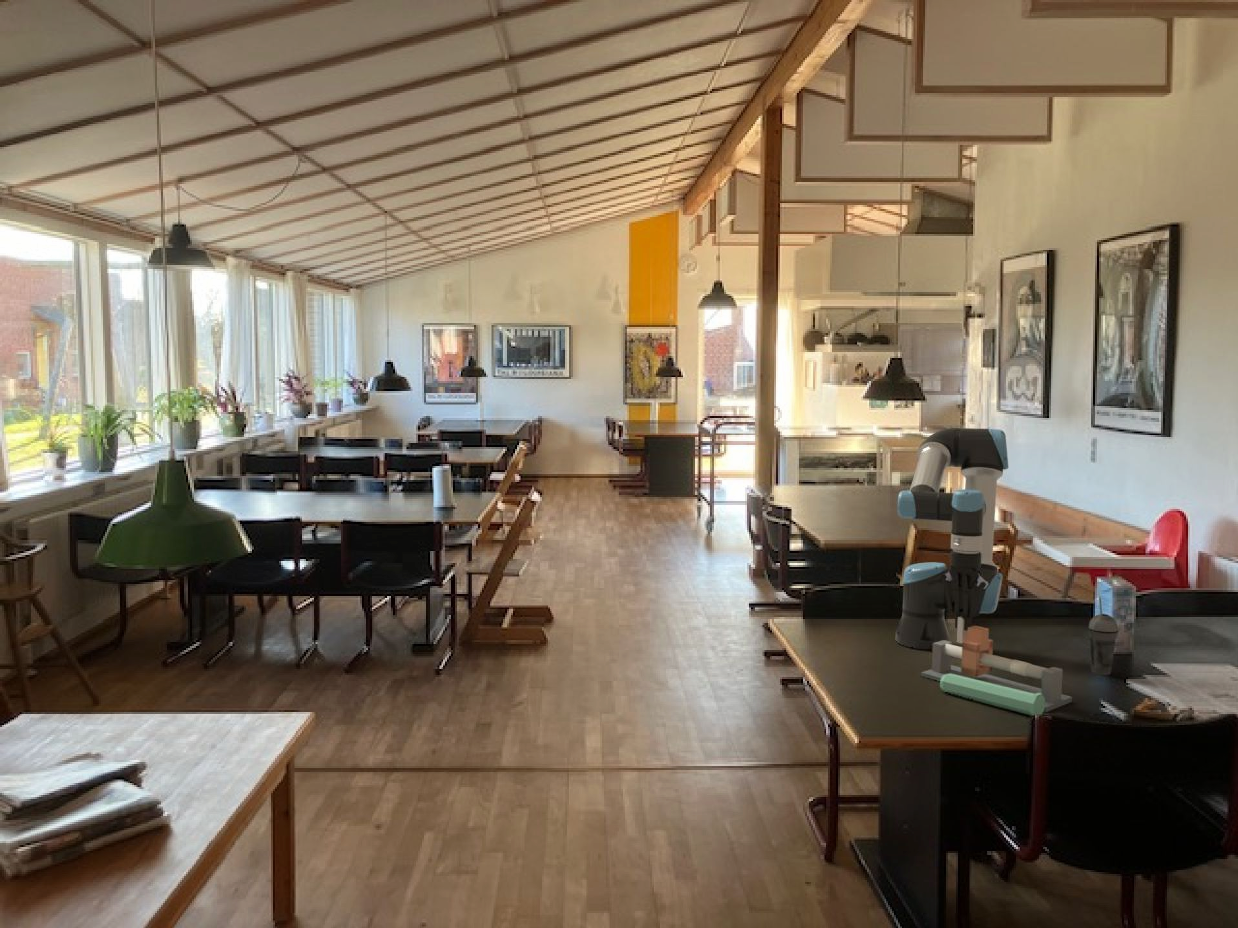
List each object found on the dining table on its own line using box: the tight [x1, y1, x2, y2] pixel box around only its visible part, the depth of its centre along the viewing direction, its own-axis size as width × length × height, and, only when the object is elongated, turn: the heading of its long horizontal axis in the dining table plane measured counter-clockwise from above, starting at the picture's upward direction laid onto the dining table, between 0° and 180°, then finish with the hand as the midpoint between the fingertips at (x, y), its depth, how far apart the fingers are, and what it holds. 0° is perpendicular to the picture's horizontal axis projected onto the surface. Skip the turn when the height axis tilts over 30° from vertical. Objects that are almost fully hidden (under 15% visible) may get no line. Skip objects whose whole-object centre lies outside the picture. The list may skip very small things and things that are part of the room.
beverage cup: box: [1087, 597, 1119, 676], centre depth 265 cm, size 7×7×20 cm
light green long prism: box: [939, 673, 1045, 717], centre depth 242 cm, size 6×6×25 cm
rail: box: [920, 640, 1073, 713], centre depth 252 cm, size 34×12×9 cm, turn 39°
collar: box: [961, 625, 994, 677], centre depth 255 cm, size 4×7×12 cm, turn 129°
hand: (962, 641), depth 258 cm, fingers closed
